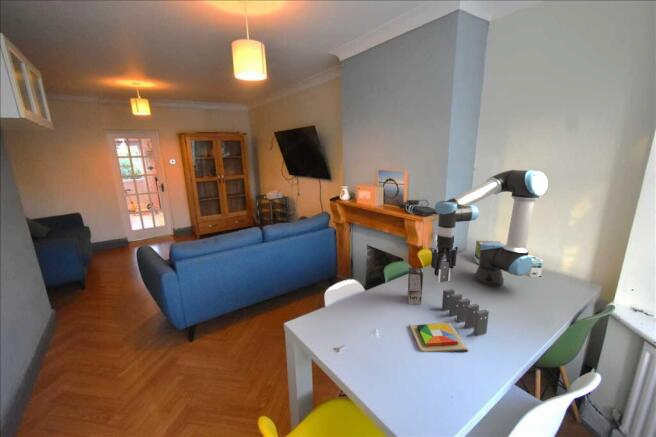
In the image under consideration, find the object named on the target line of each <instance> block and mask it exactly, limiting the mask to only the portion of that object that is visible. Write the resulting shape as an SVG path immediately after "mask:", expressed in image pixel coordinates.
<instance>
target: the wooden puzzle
mask: <svg viewBox="0 0 656 437" xmlns="http://www.w3.org/2000/svg"><path fill="white" fill-rule="evenodd" d="M408 326H409V329H410V332H411V333H412V335H413V337H414V340H415V342H416V344H417V347H418V349H419V351H420V352H422V353H439V352H440V353H442V352H453V351H466V352H468V351H469V348H468V347H467V346H466V344H465V343H464V341H463V339H461V336H459V334H458V332H457V330H456V329H455V328H454V326H453V325H452V323H450V322H436V323H423V324H412V323H409V324H408Z"/></svg>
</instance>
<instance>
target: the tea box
mask: <svg viewBox="0 0 656 437" xmlns="http://www.w3.org/2000/svg"><path fill="white" fill-rule="evenodd" d="M475 241H476V244H475V250H474V257H473V258H474V259H473V260H474V262H475V263H478V264H479V257H480V249H481V245H482V244H483V243H486V242H497V243H502V242H501V241H497V240H494V241H492V240H475ZM478 264H477V265H478Z"/></svg>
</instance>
